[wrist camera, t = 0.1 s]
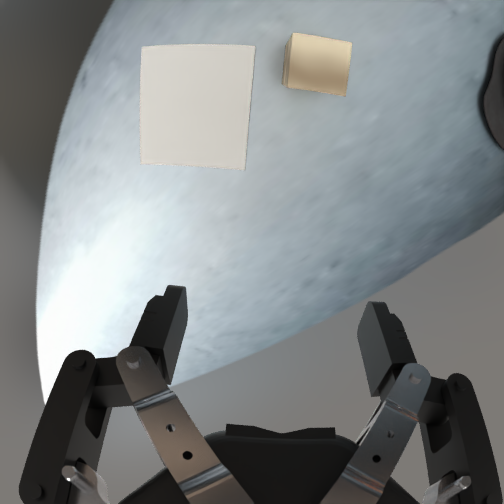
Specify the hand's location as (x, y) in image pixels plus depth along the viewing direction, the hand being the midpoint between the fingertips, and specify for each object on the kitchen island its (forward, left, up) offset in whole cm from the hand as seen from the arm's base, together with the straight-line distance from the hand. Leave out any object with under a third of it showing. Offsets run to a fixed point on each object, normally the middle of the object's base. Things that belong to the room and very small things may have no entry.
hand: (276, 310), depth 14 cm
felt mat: (-5, -10, -29) cm, 31 cm away
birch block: (-11, +3, -29) cm, 31 cm away
